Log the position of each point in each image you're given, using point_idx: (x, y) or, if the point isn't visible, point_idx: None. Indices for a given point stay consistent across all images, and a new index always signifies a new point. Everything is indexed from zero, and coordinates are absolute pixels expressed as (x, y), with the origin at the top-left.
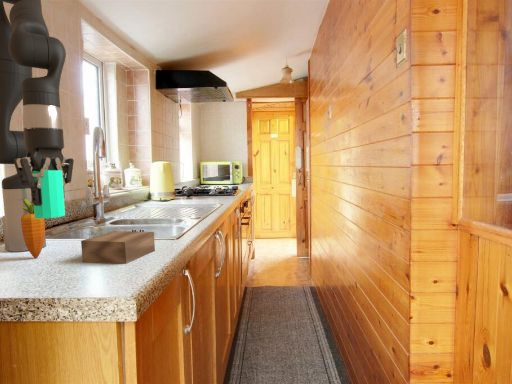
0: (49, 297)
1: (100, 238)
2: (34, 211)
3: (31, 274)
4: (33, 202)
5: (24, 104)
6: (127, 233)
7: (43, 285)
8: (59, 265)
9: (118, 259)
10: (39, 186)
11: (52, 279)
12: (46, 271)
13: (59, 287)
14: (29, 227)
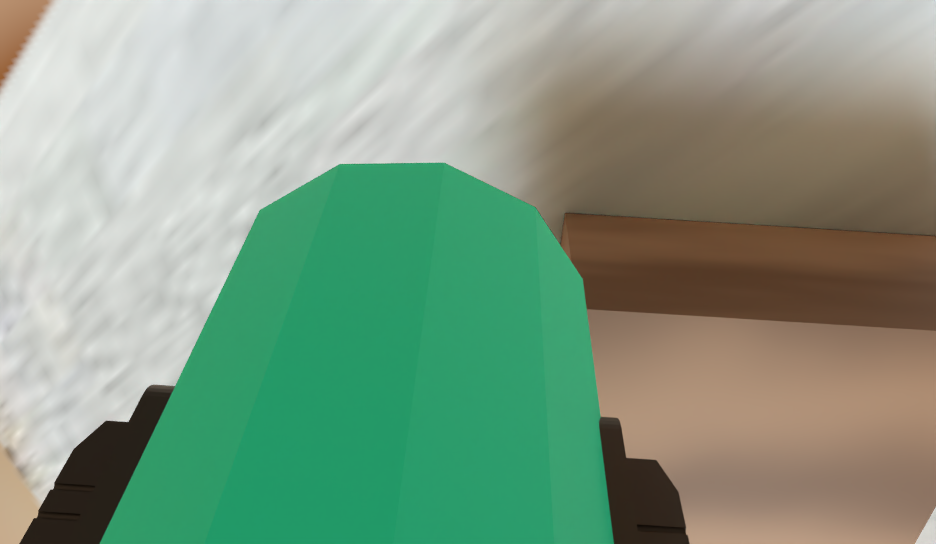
0: (6, 437)
1: (663, 402)
2: (229, 275)
3: (222, 77)
4: (100, 446)
5: None
6: (855, 485)
7: (98, 312)
8: (456, 110)
9: None
10: None
11: (188, 288)
12: (306, 130)
13: (109, 399)
14: None
